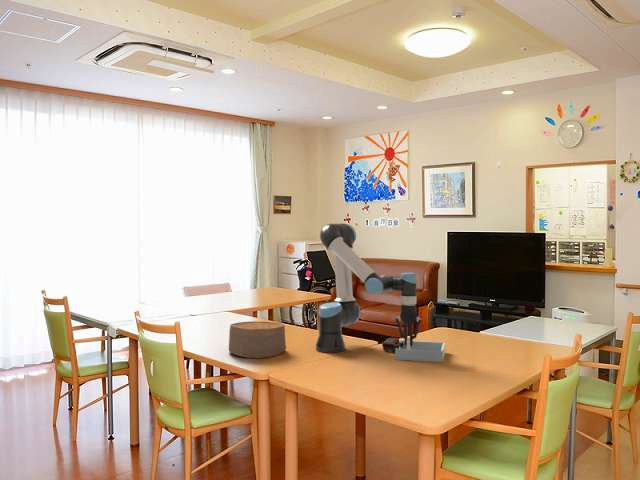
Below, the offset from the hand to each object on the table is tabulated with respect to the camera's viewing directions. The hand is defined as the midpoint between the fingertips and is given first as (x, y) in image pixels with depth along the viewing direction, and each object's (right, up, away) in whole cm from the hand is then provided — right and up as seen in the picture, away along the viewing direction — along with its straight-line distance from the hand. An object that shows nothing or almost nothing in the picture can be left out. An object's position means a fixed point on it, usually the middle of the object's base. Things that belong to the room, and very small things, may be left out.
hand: (408, 352), depth 266 cm
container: (-75, -2, +7) cm, 75 cm away
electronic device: (-8, +2, +4) cm, 9 cm away
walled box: (+6, -1, -2) cm, 6 cm away
